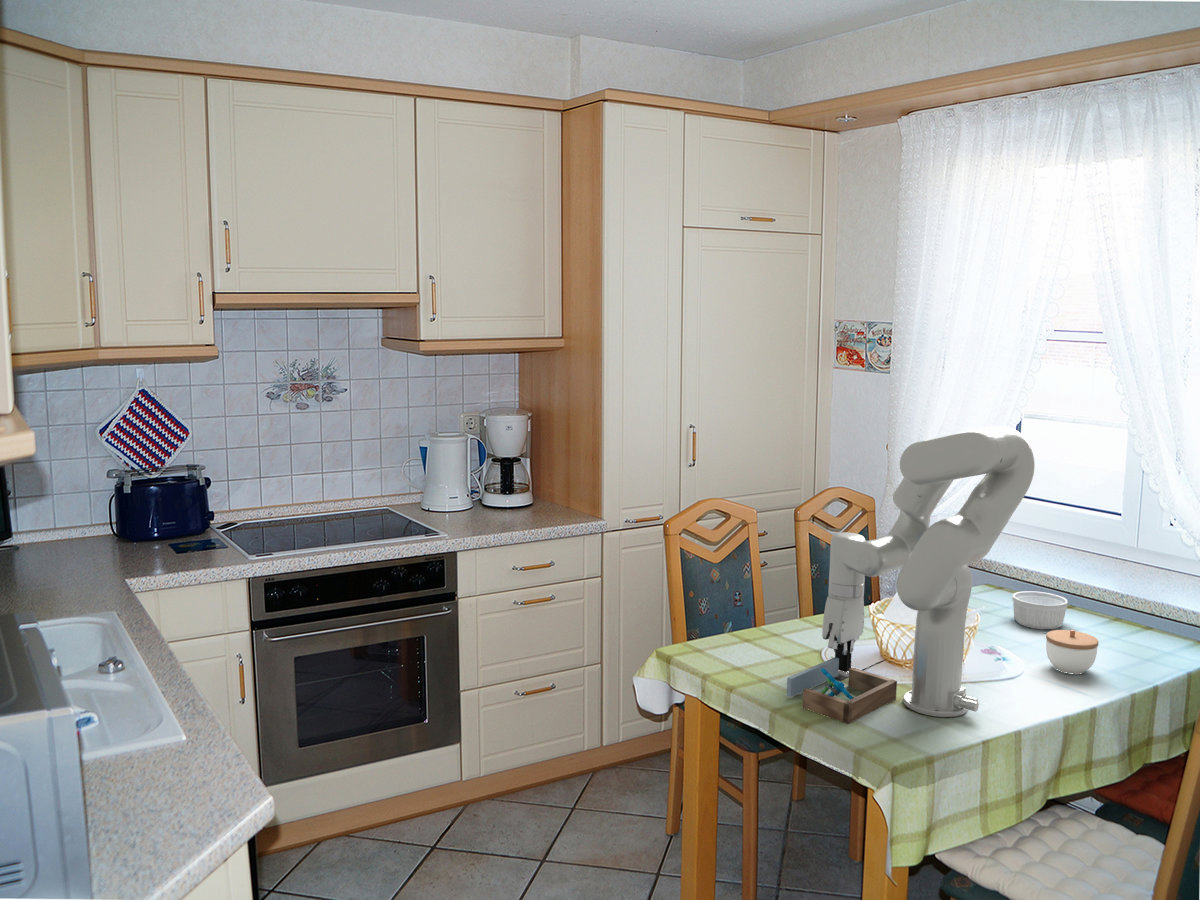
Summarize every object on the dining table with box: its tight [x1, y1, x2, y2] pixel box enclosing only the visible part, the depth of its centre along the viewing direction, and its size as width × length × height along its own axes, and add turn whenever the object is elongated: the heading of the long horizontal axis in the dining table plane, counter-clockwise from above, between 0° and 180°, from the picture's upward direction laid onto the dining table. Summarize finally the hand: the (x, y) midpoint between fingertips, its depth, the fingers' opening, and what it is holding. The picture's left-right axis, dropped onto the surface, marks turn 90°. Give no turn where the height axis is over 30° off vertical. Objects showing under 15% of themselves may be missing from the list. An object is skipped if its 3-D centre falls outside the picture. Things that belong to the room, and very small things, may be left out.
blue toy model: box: [820, 668, 855, 701], centre depth 208 cm, size 11×6×10 cm
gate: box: [786, 656, 840, 698], centre depth 215 cm, size 1×18×4 cm, turn 134°
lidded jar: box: [1045, 629, 1099, 674], centre depth 228 cm, size 11×11×9 cm
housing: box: [802, 668, 898, 725], centre depth 217 cm, size 17×38×4 cm, turn 134°
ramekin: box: [1011, 590, 1069, 630], centre depth 262 cm, size 13×13×7 cm
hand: (842, 669), depth 223 cm, fingers closed
